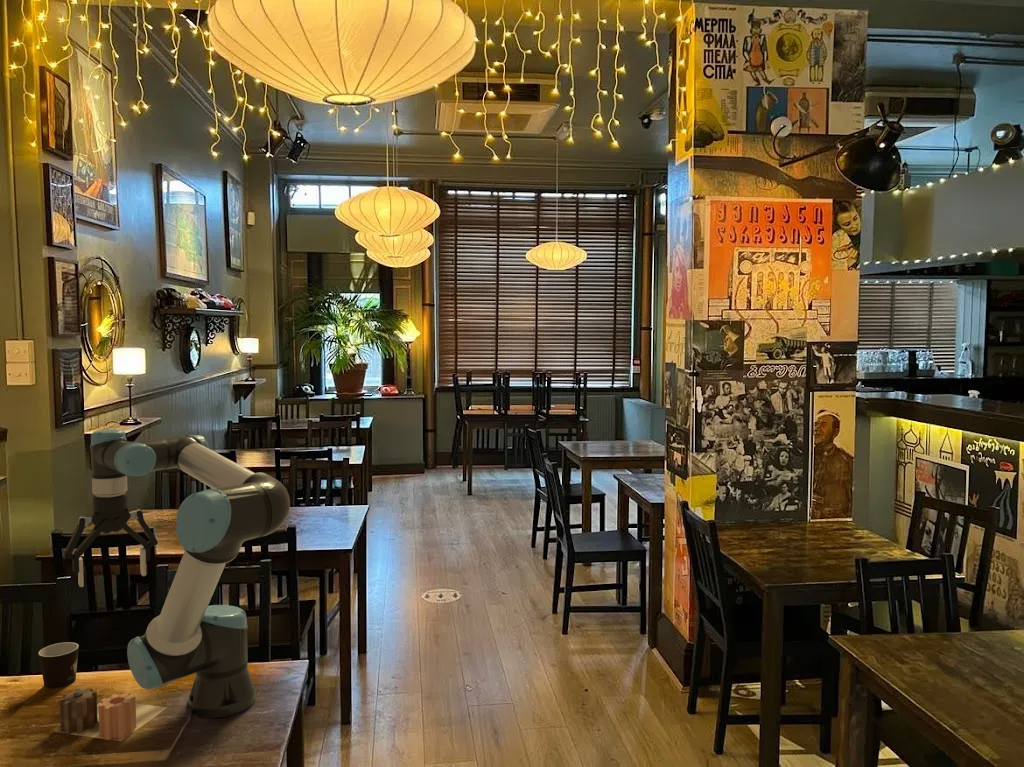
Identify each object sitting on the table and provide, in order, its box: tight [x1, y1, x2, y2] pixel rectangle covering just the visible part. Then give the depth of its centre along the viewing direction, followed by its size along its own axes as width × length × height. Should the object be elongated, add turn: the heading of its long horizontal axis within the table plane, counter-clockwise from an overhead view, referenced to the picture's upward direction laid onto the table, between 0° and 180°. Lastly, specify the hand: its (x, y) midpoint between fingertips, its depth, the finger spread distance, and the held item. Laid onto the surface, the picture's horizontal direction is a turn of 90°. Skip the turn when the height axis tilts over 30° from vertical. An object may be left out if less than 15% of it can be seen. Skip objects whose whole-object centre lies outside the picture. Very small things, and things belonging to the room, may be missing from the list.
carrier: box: [54, 701, 168, 742], centre depth 171 cm, size 17×15×6 cm
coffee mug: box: [38, 641, 80, 690], centre depth 190 cm, size 12×9×10 cm
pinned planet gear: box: [59, 687, 98, 735], centre depth 168 cm, size 7×7×8 cm
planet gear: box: [98, 692, 137, 741], centre depth 166 cm, size 7×7×7 cm
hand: (112, 580), depth 184 cm, fingers open, 13 cm apart
